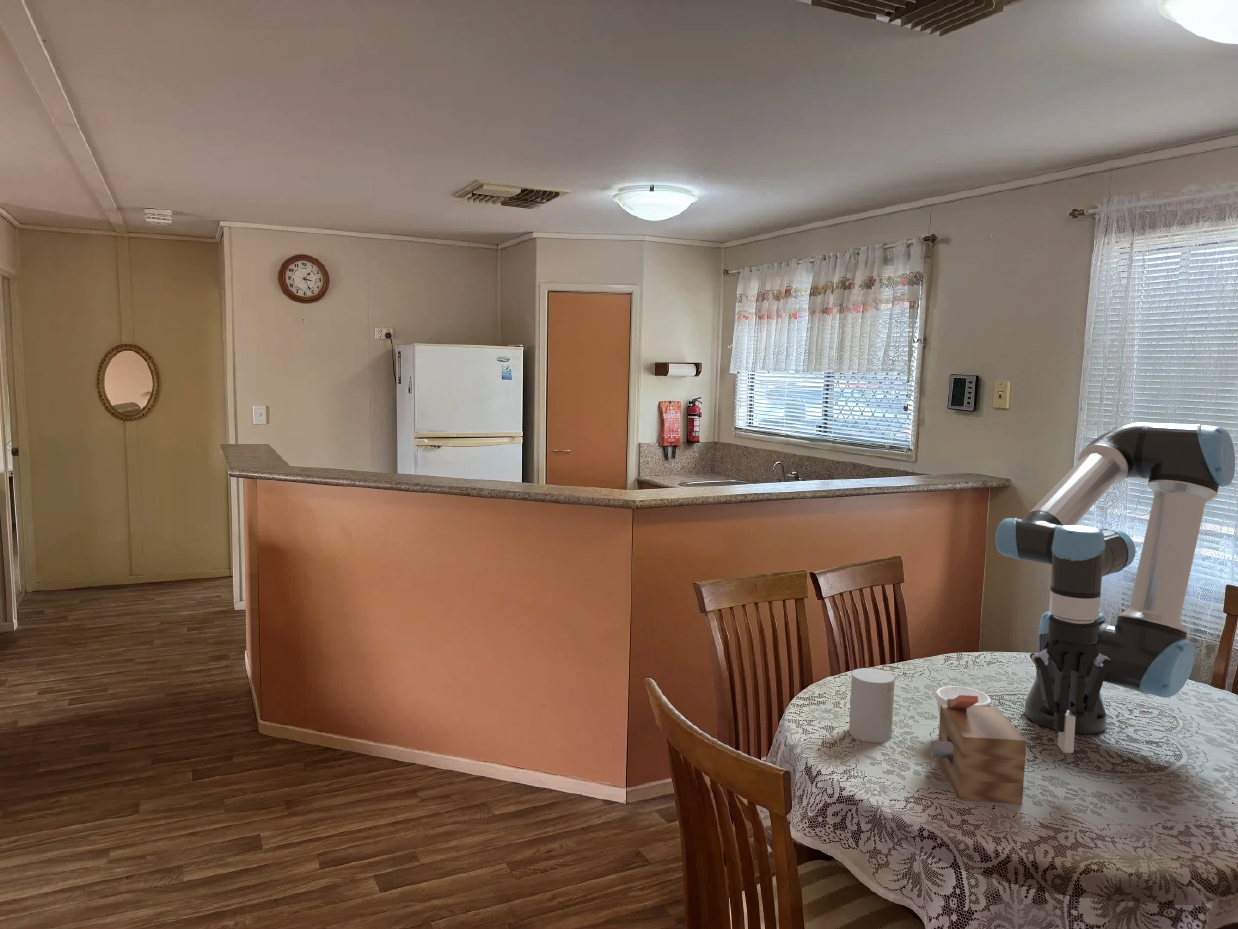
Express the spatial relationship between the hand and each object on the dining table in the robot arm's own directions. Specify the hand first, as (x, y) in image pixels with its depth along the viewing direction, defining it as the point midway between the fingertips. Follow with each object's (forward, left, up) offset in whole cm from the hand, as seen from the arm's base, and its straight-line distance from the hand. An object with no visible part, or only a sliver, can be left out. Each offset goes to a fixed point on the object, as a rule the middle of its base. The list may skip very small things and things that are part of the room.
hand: (1065, 748), depth 144 cm
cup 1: (+29, -17, -7) cm, 35 cm away
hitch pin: (+15, 0, -4) cm, 16 cm away
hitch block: (+14, +1, -7) cm, 16 cm away
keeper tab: (+17, -2, +6) cm, 18 cm away
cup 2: (+12, -16, -7) cm, 22 cm away
